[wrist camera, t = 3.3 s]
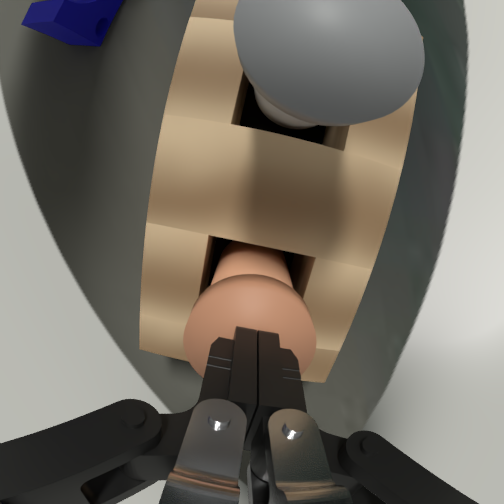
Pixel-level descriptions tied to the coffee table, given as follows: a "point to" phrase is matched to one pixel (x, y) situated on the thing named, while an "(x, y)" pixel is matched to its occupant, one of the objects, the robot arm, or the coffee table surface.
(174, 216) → the oak board
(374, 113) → the grey plunger
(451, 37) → the coffee table surface
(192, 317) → the terracotta plunger
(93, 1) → the cable clip
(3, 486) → the robot arm
